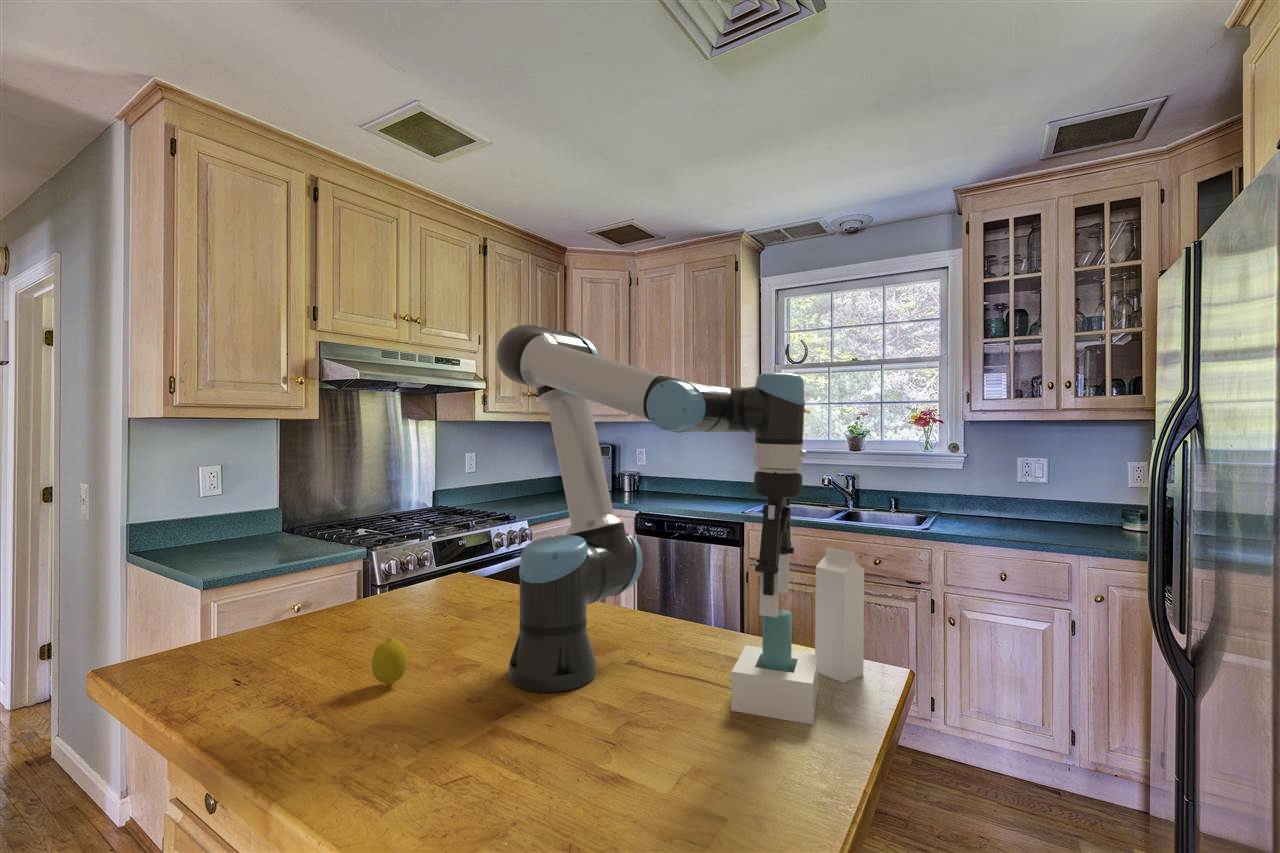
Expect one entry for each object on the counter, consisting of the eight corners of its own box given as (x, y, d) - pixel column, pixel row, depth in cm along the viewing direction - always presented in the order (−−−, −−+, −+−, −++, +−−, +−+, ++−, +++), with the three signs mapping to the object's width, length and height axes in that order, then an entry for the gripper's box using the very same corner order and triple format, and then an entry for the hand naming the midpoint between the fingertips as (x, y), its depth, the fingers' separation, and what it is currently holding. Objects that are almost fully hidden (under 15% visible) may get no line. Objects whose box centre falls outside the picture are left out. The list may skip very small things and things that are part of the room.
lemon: (414, 682, 102) (415, 635, 102) (388, 695, 97) (389, 645, 97) (390, 676, 104) (391, 630, 104) (363, 689, 99) (364, 640, 99)
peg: (760, 704, 95) (760, 615, 95) (764, 692, 99) (765, 607, 99) (789, 709, 93) (790, 618, 93) (792, 697, 97) (793, 610, 97)
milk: (843, 684, 103) (844, 555, 103) (814, 672, 108) (814, 549, 108) (864, 675, 106) (864, 550, 106) (834, 664, 111) (835, 545, 111)
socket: (731, 710, 92) (731, 671, 92) (745, 680, 104) (745, 645, 104) (812, 724, 88) (812, 683, 88) (818, 691, 100) (818, 655, 100)
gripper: (794, 477, 83) (790, 631, 83) (808, 467, 107) (805, 586, 107) (740, 475, 86) (736, 623, 86) (766, 465, 109) (763, 581, 109)
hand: (774, 603), depth 96 cm, fingers open, 13 cm apart
